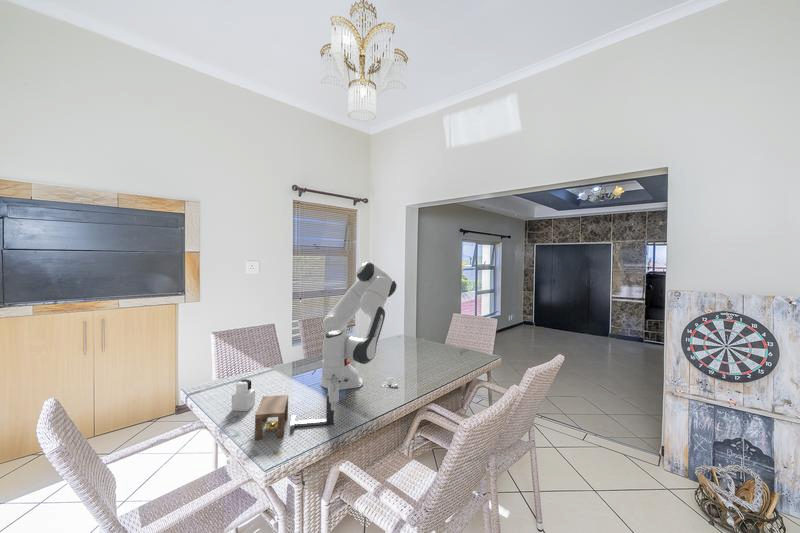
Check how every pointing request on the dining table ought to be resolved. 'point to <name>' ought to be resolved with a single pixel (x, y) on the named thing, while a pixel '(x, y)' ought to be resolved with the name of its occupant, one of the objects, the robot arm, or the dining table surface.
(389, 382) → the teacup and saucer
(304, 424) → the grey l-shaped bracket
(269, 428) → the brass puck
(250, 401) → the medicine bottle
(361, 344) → the robot arm
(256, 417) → the wooden arch block
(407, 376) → the dining table surface
